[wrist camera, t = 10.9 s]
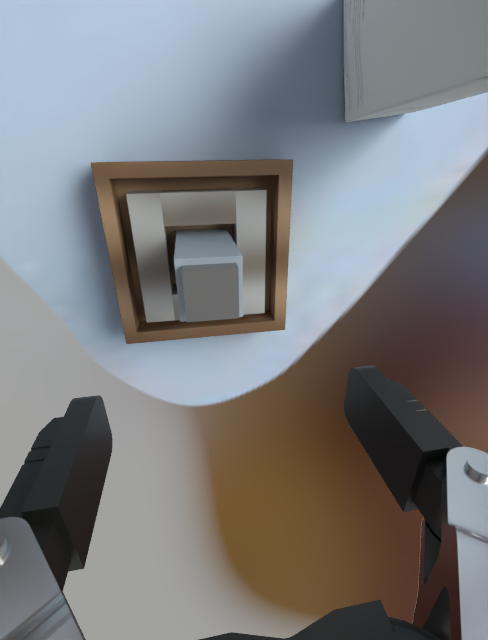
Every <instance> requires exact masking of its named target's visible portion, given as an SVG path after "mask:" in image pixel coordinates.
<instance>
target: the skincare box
mask: <svg viewBox="0 0 488 640" xmlns="http://www.w3.org/2000/svg"><path fill="white" fill-rule="evenodd" d="M344 90H345V121H346V122H353V121H360V120H367V119H373V118H380V117H387V116H393V115H400V114H406V113H412V112H416V111H420V110H423V109H427V108H431V107H435V106H438V105H442V104H446V103H449V102H453V101H456V100H460V99H464V98H467V97H471V96H475V95H478V94H482V93H486V92H488V0H344Z"/></svg>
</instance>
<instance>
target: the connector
mask: <svg viewBox="0 0 488 640" xmlns="http://www.w3.org/2000/svg"><path fill="white" fill-rule="evenodd" d="M174 266H175V275H176V285H177V294H178V304H179V313H180V322H182V321H186V322H198V321H211V320H223V319H236V318H239V317H243V256H242V254H241V252H240V251H239V249H238V247H237V246H236V244H235V242H234V241H233V239H232V237H231V236H230V234H229V233H228V231H227V229H226V228H202V229H177V232H176V242H175V252H174Z"/></svg>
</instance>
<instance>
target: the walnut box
mask: <svg viewBox="0 0 488 640" xmlns="http://www.w3.org/2000/svg"><path fill="white" fill-rule="evenodd" d="M91 167H92V172H93V177H94V182H95V187H96V192H97V197H98V202H99V207H100V212H101V218H102V223H103V228H104V233H105V238H106V243H107V248H108V253H109V258H110V263H111V268H112V273H113V278H114V283H115V289H116V294H117V299H118V304H119V309H120V314H121V319H122V324H123V329H124V334H125V339H126V344H131V343H143V342H154V341H165V340H176V339H187V338H198V337H209V336H220V335H231V334H242V333H253V332H264V331H276V330H285V318H286V297H287V276H288V255H289V233H290V212H291V191H292V170H293V160H218V161H153V162H96V163H91ZM202 228H226V229H227V231H228V233H229V234H230V236H231V237H232V239H233V241H234V242H235V244H236V246H237V247H238V249H239V251H240V252H241V254H242V256H243V317H239V318H236V319H223V320H211V321H198V322H186V321H182V322H180V313H179V304H178V294H177V285H176V275H175V266H174V252H175V242H176V232H177V229H202Z"/></svg>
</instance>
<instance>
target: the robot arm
mask: <svg viewBox="0 0 488 640" xmlns="http://www.w3.org/2000/svg"><path fill="white" fill-rule="evenodd" d="M344 412H345V416H346V419H347V421H348V423H349V425H350V426H351V428H352V430H353V431H354V433H355V435H356V436H357V438H358V439H359V441H360V443H361V444H362V446H363V447H364V449H365V451H366V452H367V454H368V456H369V457H370V458H371V460H372V462H373V464H374V465H375V467H376V469H377V470H378V472H379V474H380V475H381V477H382V478H383V480H384V482H385V483H386V485H387V486H388V488H389V490H390V491H391V493H392V494H393V496H394V498H395V499H396V501H397V503H398V504H399V506H400V507H401V509H402V510H403V512H407V511H412V510H418V509H419V511H420V512H421V514H422V515H423V517H424V518H423V520H422V525H421V545H420V564H419V585H418V596H417V602H416V606H415V611H414V616H413V623H409V622H407V621H404V620H400V619H397V618H393V617H388V616H387V614H386V612H385V610H384V608H383V605H382V603H381V601H380V600H377V601H372V602H368V603H363V604H359V605H354V606H350V607H345V608H341V609H336V610H333V611H332V612H330V613H329V614H327V615H325V616H324V617H322V618H321V619H319V620H317V621H316V622H314V623H313V624H311V625H310V626H308V627H307V628H305V629H303V630H302V631H300V632H299V633H297V634H296V635H294V636H292V637H290V638H286V639H281V638H273V637H265V636H257V635H248V634H239V633H227V634H222V635H218V636H213V637H209V638H205V639H200V640H488V454H487V453H485V452H483V451H480V450H477V449H474V448H469V447H463V446H462V445H461V444H460V443H459V442H458V441H457V440H456V439H455V438H454V437H453V436H452V435H451V434H450V433H449V431H448V430H446V428H444V426H443V425H442V424H441V423H440V422H439V421H438V420H437V419H436V418H435V417H434V416H433V415H432V414H431V413H430V412H429V411H426V408H425V407H424V405H423V404H422V403H421V402H419V401H418V400H417V398H416V397H415V396H414V395H413V394H412V393H411V392H410V391H409V390H408V389H407V388H406V387H404V386H403V385H401V384H399V383H398V382H396V381H394V380H393V379H387V378H386V377H385V376H384V375H383V374H382V373H381V372H380V370H379V369H378V368H377V367H375V366H366V367H357V368H351V369H350V371H349V374H348V381H347V387H346V393H345V400H344ZM111 453H112V433H111V429H110V425H109V422H108V418H107V414H106V410H105V406H104V403H103V400H102V397H101V396H91V397H82V398H74V399H72V401H71V402H70V404H69V407H68V409H67V411H66V413H65V416H64V417H60V418H54V419H53V420H52V421H51V422H49V423H48V424H47V425H46V427H44V428H43V429H42V430H41V431H40V432H39V434H38V436H37V438H36V440H35V442H34V444H33V446H32V448H31V451H30V452H29V453H28V456H27V457H26V459H25V464H24V465H22V467H21V469H20V471H19V473H18V475H17V477H16V479H15V481H14V483H13V485H12V486H11V488H10V490H9V492H8V494H7V496H6V498H5V500H4V502H3V504H2V506H1V508H0V640H86V639H85V637H84V635H83V633H82V631H81V629H80V627H79V625H78V623H77V620H76V618H75V616H74V614H73V612H72V610H71V608H70V606H69V604H68V602H67V600H66V598H65V595H64V593H63V587H64V584H65V580H66V577H67V573H68V571H73V570H78V569H84V566H85V562H86V558H87V554H88V550H89V545H90V541H91V537H92V533H93V528H94V524H95V520H96V516H97V512H98V508H99V503H100V499H101V495H102V491H103V486H104V483H105V478H106V474H107V470H108V465H109V462H110V457H111Z"/></svg>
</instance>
